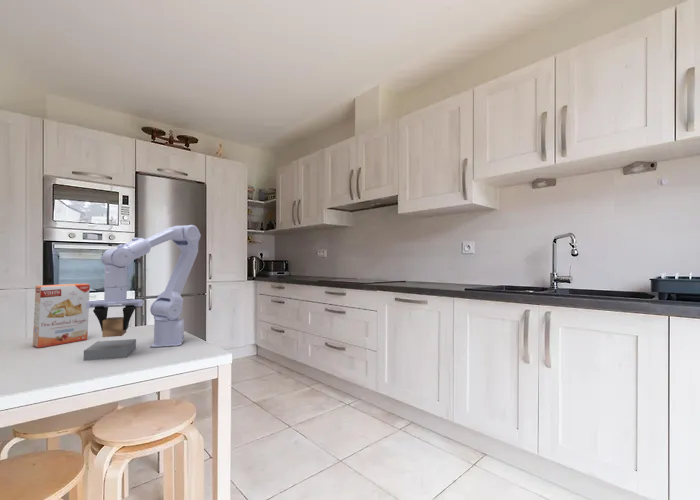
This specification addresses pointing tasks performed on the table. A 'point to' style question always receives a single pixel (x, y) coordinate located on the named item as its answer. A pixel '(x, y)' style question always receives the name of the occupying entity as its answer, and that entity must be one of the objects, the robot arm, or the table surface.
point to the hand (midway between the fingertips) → (114, 330)
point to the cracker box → (60, 314)
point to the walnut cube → (113, 327)
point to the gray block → (110, 349)
